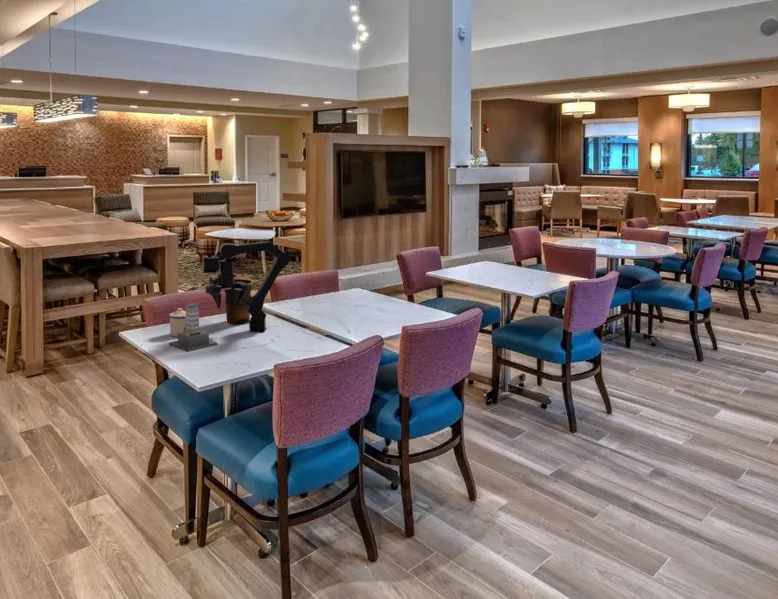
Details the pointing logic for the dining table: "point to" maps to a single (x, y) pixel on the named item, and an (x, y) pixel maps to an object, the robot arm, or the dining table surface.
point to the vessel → (239, 312)
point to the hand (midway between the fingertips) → (227, 306)
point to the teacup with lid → (177, 322)
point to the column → (192, 318)
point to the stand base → (193, 341)
